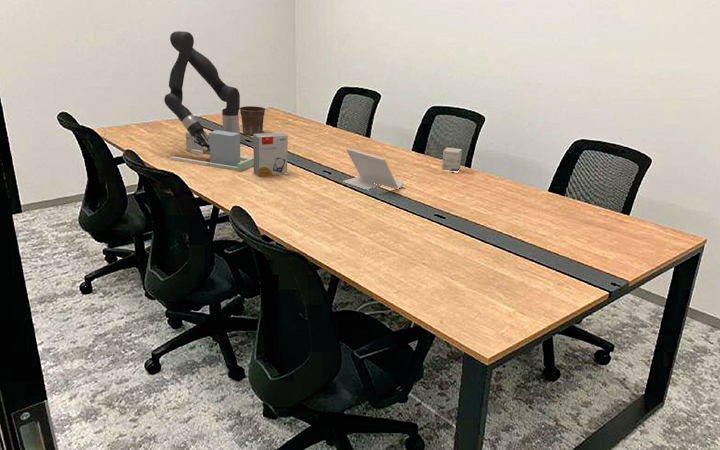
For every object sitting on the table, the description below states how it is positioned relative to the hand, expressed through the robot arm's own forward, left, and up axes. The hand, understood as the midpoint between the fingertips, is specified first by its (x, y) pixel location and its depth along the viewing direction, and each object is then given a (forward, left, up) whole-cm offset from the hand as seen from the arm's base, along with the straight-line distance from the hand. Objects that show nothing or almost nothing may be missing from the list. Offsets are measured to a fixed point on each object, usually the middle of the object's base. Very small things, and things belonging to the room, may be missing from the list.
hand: (213, 151), depth 308 cm
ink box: (-47, +117, -6) cm, 127 cm away
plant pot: (-66, -17, -5) cm, 68 cm away
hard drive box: (+5, +37, -6) cm, 38 cm away
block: (0, +8, -5) cm, 9 cm away
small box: (-13, -22, -6) cm, 26 cm away
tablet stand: (-3, +90, -6) cm, 90 cm away
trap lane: (-3, +1, -5) cm, 6 cm away
